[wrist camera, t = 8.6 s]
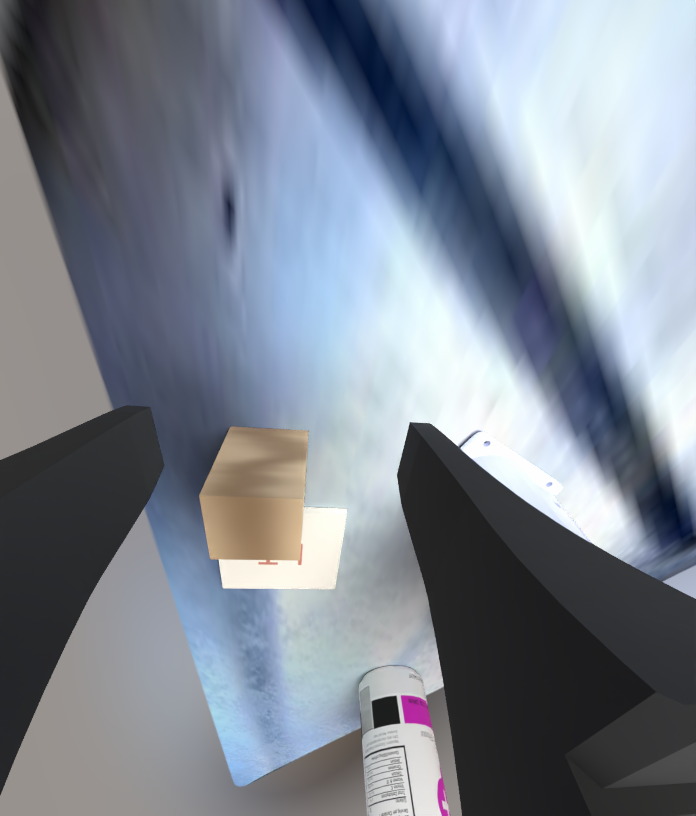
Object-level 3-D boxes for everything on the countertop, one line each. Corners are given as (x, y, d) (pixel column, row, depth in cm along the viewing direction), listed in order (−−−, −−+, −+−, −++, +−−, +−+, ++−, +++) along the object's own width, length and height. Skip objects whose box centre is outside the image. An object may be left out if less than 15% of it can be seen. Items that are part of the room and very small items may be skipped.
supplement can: (426, 661, 40) (473, 872, 27) (414, 688, 44) (450, 882, 31) (361, 664, 39) (378, 881, 27) (356, 691, 44) (368, 890, 31)
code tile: (346, 508, 25) (346, 515, 25) (334, 582, 30) (334, 589, 30) (213, 504, 24) (211, 510, 24) (224, 581, 29) (222, 588, 29)
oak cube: (308, 430, 21) (303, 498, 16) (305, 485, 24) (299, 560, 19) (230, 426, 21) (199, 495, 16) (235, 483, 23) (210, 559, 18)
